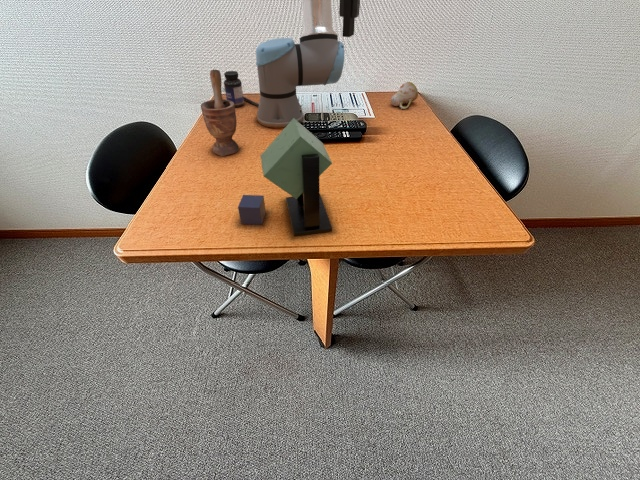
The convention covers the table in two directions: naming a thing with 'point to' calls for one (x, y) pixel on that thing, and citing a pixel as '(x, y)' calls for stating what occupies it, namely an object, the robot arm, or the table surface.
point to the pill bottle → (233, 88)
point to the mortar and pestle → (220, 118)
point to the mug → (405, 95)
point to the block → (252, 209)
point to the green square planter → (292, 157)
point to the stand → (308, 202)
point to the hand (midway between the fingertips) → (348, 35)
